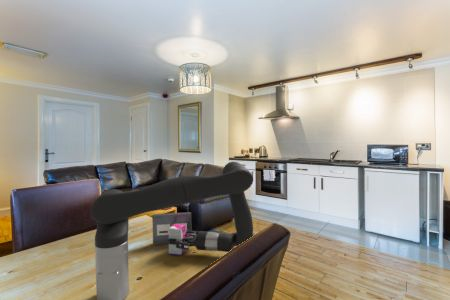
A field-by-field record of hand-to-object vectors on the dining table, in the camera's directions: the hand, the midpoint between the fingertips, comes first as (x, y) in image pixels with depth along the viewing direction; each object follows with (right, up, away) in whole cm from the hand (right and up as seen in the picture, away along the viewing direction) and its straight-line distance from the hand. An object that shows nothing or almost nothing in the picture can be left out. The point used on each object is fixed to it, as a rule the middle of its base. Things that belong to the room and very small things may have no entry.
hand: (172, 238), depth 100 cm
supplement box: (+3, -6, 0) cm, 7 cm away
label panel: (-2, -6, +9) cm, 11 cm away
